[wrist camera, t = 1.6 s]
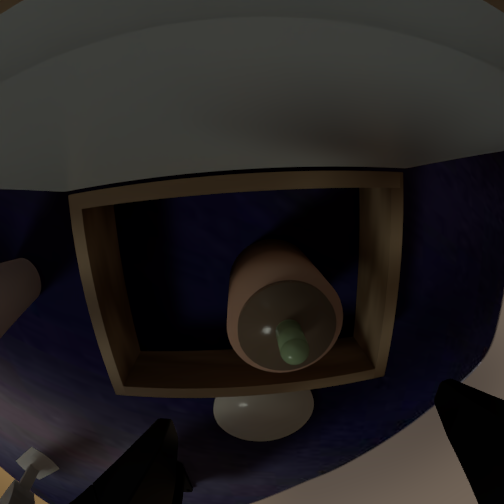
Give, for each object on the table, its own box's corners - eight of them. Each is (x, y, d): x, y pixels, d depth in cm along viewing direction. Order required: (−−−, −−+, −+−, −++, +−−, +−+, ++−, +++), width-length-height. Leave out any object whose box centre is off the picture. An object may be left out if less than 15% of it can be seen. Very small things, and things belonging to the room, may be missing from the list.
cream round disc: (309, 431, 24) (310, 435, 23) (220, 439, 24) (220, 443, 23) (314, 363, 22) (316, 368, 21) (207, 372, 22) (206, 377, 21)
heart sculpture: (36, 480, 28) (5, 549, 10) (13, 462, 26) (-22, 530, 9) (64, 466, 26) (25, 560, 8) (35, 443, 24) (-14, 535, 7)
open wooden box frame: (361, 343, 22) (434, 453, 10) (133, 359, 21) (78, 477, 9) (367, 134, 18) (499, 104, 6) (99, 152, 17) (-35, 141, 6)
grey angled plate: (629, 138, 1) (622, 108, 1) (-153, 193, 1) (-150, 162, 1) (405, 168, 13) (404, 155, 13) (64, 191, 13) (63, 178, 12)
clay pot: (311, 313, 21) (355, 398, 12) (233, 320, 21) (232, 413, 12) (311, 236, 19) (370, 285, 10) (226, 242, 19) (217, 299, 10)
